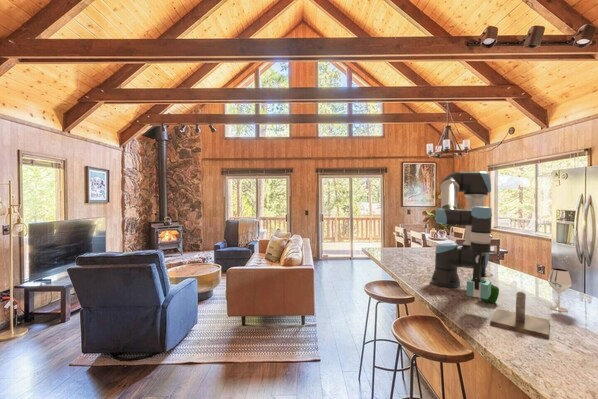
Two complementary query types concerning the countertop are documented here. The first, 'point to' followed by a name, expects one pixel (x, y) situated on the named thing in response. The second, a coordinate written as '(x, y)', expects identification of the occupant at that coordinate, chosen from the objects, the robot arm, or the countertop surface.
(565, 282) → the wineglass
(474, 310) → the countertop surface
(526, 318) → the post board
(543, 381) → the countertop surface
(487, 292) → the bead
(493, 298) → the bell pepper
